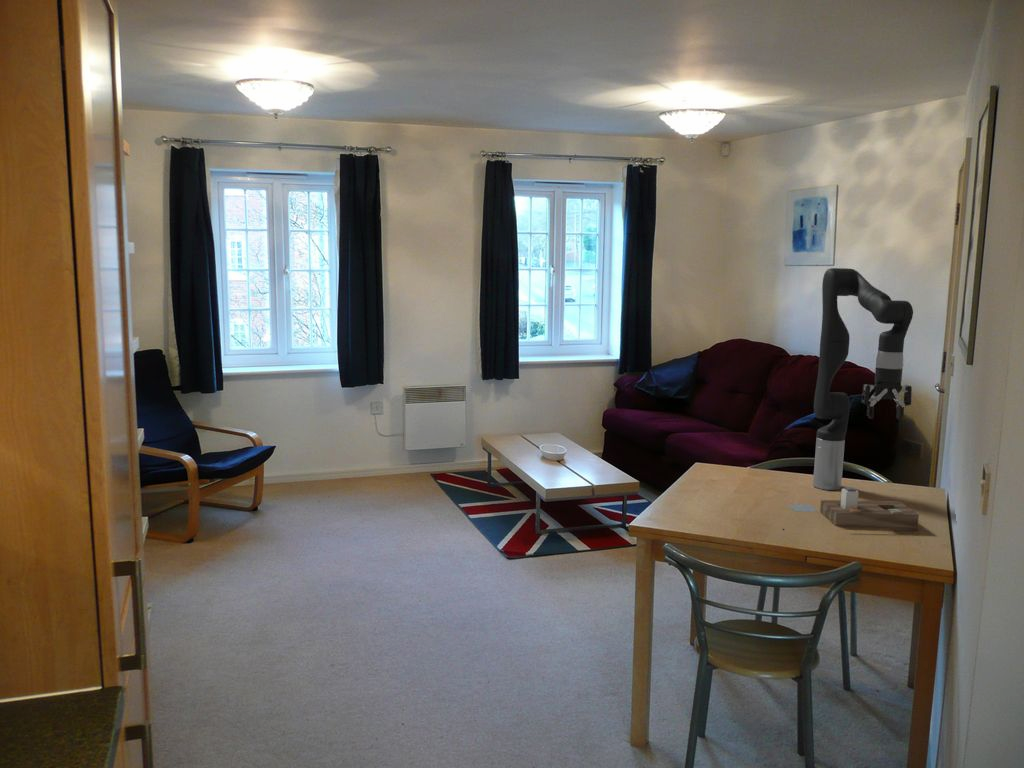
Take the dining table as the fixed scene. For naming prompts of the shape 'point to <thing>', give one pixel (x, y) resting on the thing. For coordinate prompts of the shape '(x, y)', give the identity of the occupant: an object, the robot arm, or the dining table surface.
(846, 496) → the plug
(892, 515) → the socket block
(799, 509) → the thin square blue plate
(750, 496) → the dining table surface
